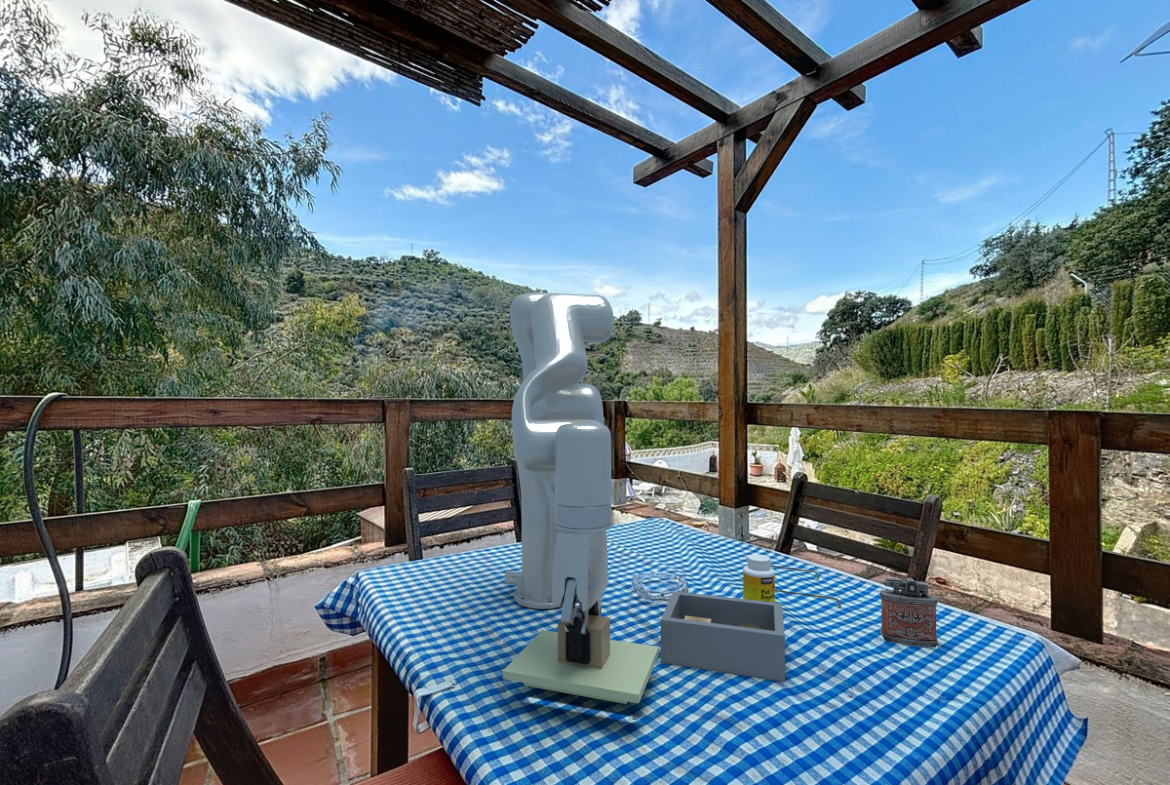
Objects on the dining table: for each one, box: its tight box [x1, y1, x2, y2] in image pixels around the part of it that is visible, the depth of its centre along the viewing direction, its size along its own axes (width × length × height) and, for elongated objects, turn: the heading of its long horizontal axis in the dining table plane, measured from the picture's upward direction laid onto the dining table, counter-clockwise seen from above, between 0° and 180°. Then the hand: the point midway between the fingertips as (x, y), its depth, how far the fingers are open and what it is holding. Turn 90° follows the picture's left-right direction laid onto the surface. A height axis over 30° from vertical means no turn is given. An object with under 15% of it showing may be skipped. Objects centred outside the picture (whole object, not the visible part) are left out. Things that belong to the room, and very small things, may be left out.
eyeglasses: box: [770, 564, 842, 610], centre depth 108 cm, size 16×15×5 cm
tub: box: [660, 591, 786, 683], centre depth 80 cm, size 17×12×7 cm
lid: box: [502, 612, 660, 705], centre depth 71 cm, size 18×13×8 cm
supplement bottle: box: [742, 554, 776, 603], centre depth 97 cm, size 6×6×10 cm
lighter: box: [879, 576, 939, 648], centre depth 86 cm, size 8×3×10 cm, turn 71°
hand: (583, 652), depth 71 cm, fingers closed on lid, 4 cm apart
